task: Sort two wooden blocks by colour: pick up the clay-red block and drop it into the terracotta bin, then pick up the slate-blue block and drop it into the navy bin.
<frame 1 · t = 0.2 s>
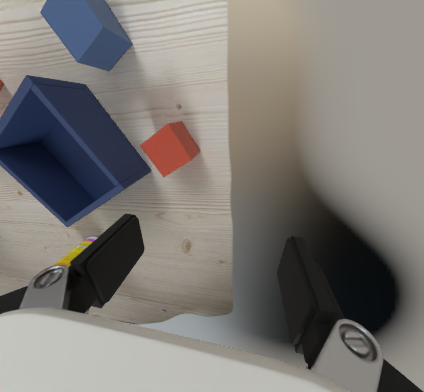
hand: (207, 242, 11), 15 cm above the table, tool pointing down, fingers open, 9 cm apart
red block: (178, 145, 24), on the table
supplement bottle: (101, 246, 37), on the table
blue block: (106, 37, 19), on the table
blue bin: (94, 155, 27), on the table
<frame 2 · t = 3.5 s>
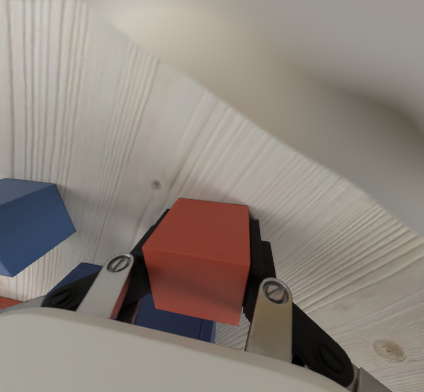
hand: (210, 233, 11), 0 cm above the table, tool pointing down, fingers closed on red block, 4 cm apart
red block: (211, 229, 12), on the table, touching gripper
blue block: (42, 206, 14), on the table
blue bin: (154, 315, 19), on the table
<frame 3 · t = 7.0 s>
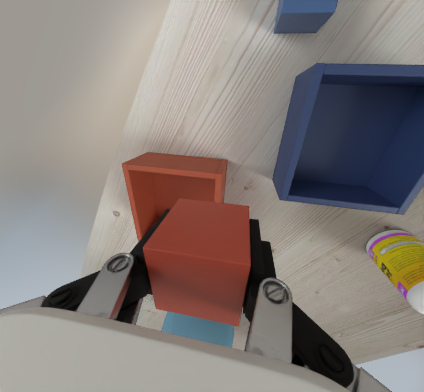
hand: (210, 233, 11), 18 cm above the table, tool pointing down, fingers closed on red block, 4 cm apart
red block: (211, 229, 12), point 17 cm above the table, touching gripper
red bin: (187, 192, 31), on the table
supplement bottle: (386, 243, 29), on the table
blue block: (300, 4, 18), on the table
blue bin: (334, 138, 23), on the table
vase: (204, 300, 45), on the table
when the fingers open (4 cm above the table, at t = 10.9 s): red block drops 3 cm, resting on red bin.
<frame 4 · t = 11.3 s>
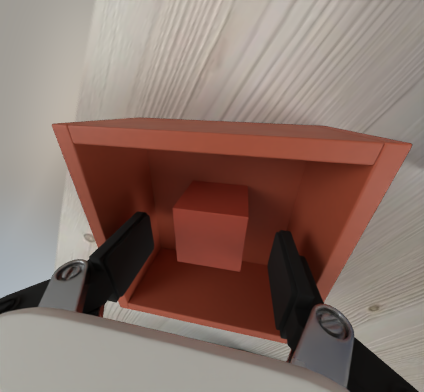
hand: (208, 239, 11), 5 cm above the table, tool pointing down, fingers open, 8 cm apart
red block: (218, 206, 15), point 1 cm above the table, touching red bin
red bin: (219, 202, 15), on the table
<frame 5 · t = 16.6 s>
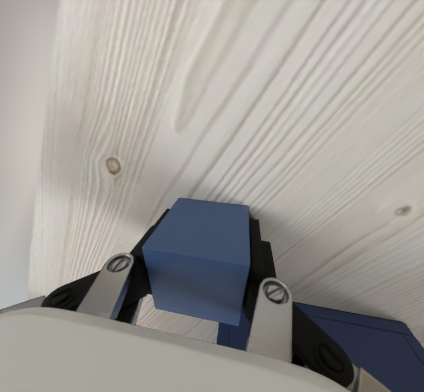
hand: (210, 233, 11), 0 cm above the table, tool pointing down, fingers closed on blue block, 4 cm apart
blue block: (211, 229, 12), on the table, touching gripper
blue bin: (287, 344, 17), on the table
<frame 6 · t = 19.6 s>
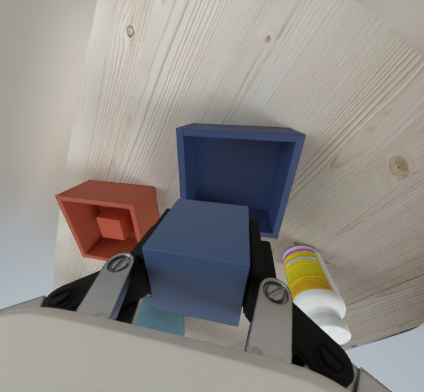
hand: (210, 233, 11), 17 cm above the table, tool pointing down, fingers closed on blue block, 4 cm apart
red block: (126, 215, 34), point 1 cm above the table, touching red bin
red bin: (128, 213, 35), on the table
supplement bottle: (299, 256, 32), on the table
blue block: (211, 230, 12), point 17 cm above the table, touching gripper
blue bin: (235, 171, 27), on the table
vase: (163, 305, 49), on the table
when the fingers open (4 cm above the table, at t = 22.8 s): blue block drops 3 cm, resting on blue bin.
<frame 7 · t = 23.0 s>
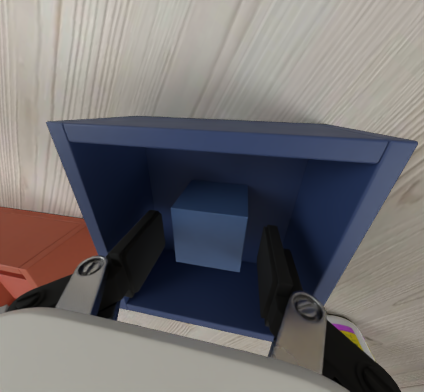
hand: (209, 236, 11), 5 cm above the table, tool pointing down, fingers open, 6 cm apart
red block: (59, 258, 23), point 1 cm above the table, touching red bin
red bin: (65, 254, 23), on the table
supplement bottle: (325, 326, 21), on the table
blue block: (217, 206, 14), point 1 cm above the table, touching blue bin
blue bin: (219, 202, 15), on the table
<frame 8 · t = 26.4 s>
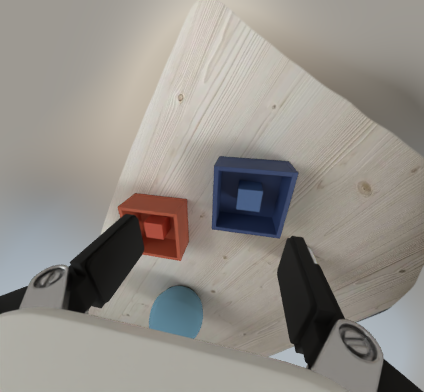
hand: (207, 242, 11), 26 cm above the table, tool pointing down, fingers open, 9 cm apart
red block: (162, 220, 44), point 1 cm above the table, touching red bin
red bin: (163, 218, 45), on the table
blue block: (248, 190, 36), point 1 cm above the table, touching blue bin
blue bin: (248, 189, 37), on the table
vase: (183, 294, 59), on the table
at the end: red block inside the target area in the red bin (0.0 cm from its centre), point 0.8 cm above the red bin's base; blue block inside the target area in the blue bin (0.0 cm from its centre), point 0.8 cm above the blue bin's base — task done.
